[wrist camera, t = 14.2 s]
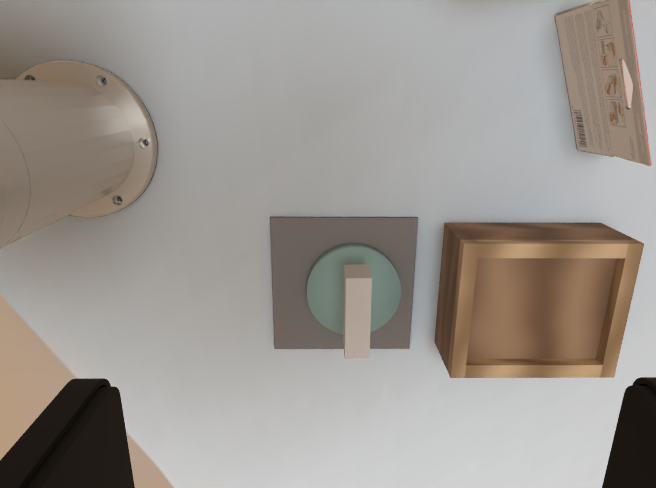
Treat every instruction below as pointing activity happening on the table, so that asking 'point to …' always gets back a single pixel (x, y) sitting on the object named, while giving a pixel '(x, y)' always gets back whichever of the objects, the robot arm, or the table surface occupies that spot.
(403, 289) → the mat
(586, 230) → the tray
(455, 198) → the table surface
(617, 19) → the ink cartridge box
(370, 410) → the table surface
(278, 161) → the table surface
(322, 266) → the cover
